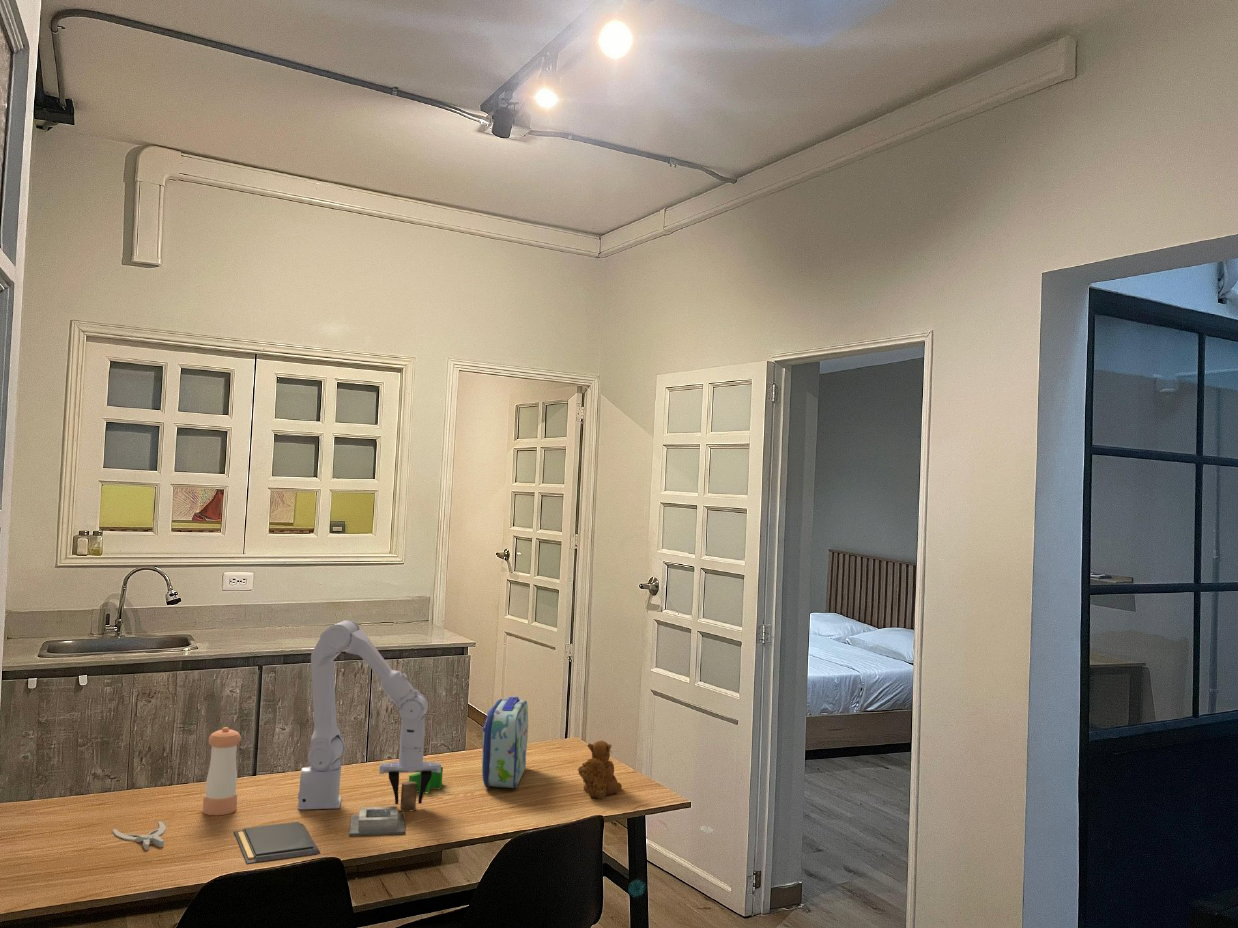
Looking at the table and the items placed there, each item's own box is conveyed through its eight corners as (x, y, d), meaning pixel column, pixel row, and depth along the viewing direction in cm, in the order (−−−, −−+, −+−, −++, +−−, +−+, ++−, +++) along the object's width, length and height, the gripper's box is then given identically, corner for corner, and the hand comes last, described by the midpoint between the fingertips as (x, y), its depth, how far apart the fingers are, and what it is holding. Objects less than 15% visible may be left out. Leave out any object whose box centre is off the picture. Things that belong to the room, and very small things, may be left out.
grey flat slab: (321, 848, 188) (243, 858, 180) (321, 857, 188) (242, 868, 180) (305, 817, 205) (233, 825, 198) (304, 825, 205) (232, 833, 198)
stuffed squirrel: (623, 788, 243) (625, 739, 243) (609, 804, 229) (612, 752, 230) (587, 783, 245) (590, 734, 246) (572, 799, 231) (574, 747, 232)
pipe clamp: (418, 796, 228) (419, 778, 228) (408, 793, 230) (408, 775, 230) (449, 786, 237) (450, 768, 237) (438, 783, 239) (439, 765, 239)
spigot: (400, 811, 216) (402, 785, 216) (400, 806, 219) (401, 781, 220) (415, 810, 217) (417, 785, 217) (415, 805, 220) (416, 780, 220)
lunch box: (491, 763, 259) (495, 690, 260) (528, 765, 259) (532, 692, 260) (476, 792, 233) (480, 710, 234) (517, 794, 233) (522, 713, 234)
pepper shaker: (195, 810, 209) (201, 727, 210) (222, 802, 215) (228, 721, 216) (216, 817, 205) (222, 732, 206) (243, 808, 212) (249, 726, 213)
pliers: (161, 816, 201) (180, 837, 189) (161, 824, 201) (180, 845, 189) (112, 825, 194) (128, 847, 183) (111, 832, 194) (128, 855, 183)
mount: (349, 836, 198) (350, 823, 198) (351, 817, 210) (352, 805, 210) (404, 833, 201) (405, 821, 201) (404, 815, 213) (404, 803, 213)
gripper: (380, 750, 213) (377, 808, 212) (443, 749, 217) (439, 806, 216) (381, 742, 220) (377, 799, 219) (441, 742, 223) (437, 797, 223)
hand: (408, 802), depth 218 cm, fingers open, 5 cm apart
